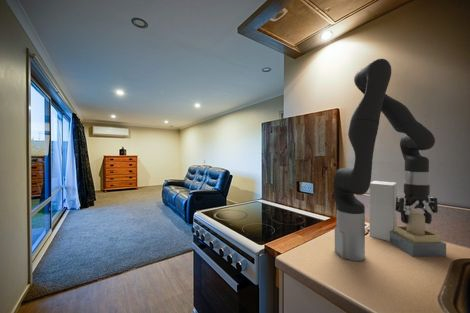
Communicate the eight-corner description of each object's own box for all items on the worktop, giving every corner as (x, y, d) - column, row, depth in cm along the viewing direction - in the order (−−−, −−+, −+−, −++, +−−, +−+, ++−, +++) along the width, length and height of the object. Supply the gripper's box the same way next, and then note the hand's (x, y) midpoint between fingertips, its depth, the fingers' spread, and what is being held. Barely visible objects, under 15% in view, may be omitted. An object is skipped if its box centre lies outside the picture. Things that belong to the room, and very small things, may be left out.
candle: (428, 239, 73) (429, 214, 73) (412, 238, 74) (412, 213, 74) (418, 233, 79) (418, 209, 78) (402, 232, 80) (402, 209, 79)
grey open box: (412, 256, 71) (412, 236, 71) (389, 242, 82) (389, 225, 82) (446, 256, 71) (446, 236, 71) (418, 242, 82) (418, 225, 82)
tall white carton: (393, 242, 82) (393, 185, 82) (369, 236, 89) (369, 182, 88) (397, 236, 88) (397, 182, 88) (373, 230, 95) (373, 180, 94)
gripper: (405, 184, 72) (405, 226, 73) (445, 184, 72) (444, 226, 72) (390, 181, 80) (390, 219, 80) (425, 181, 79) (425, 219, 80)
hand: (416, 223), depth 76 cm, fingers open, 8 cm apart
